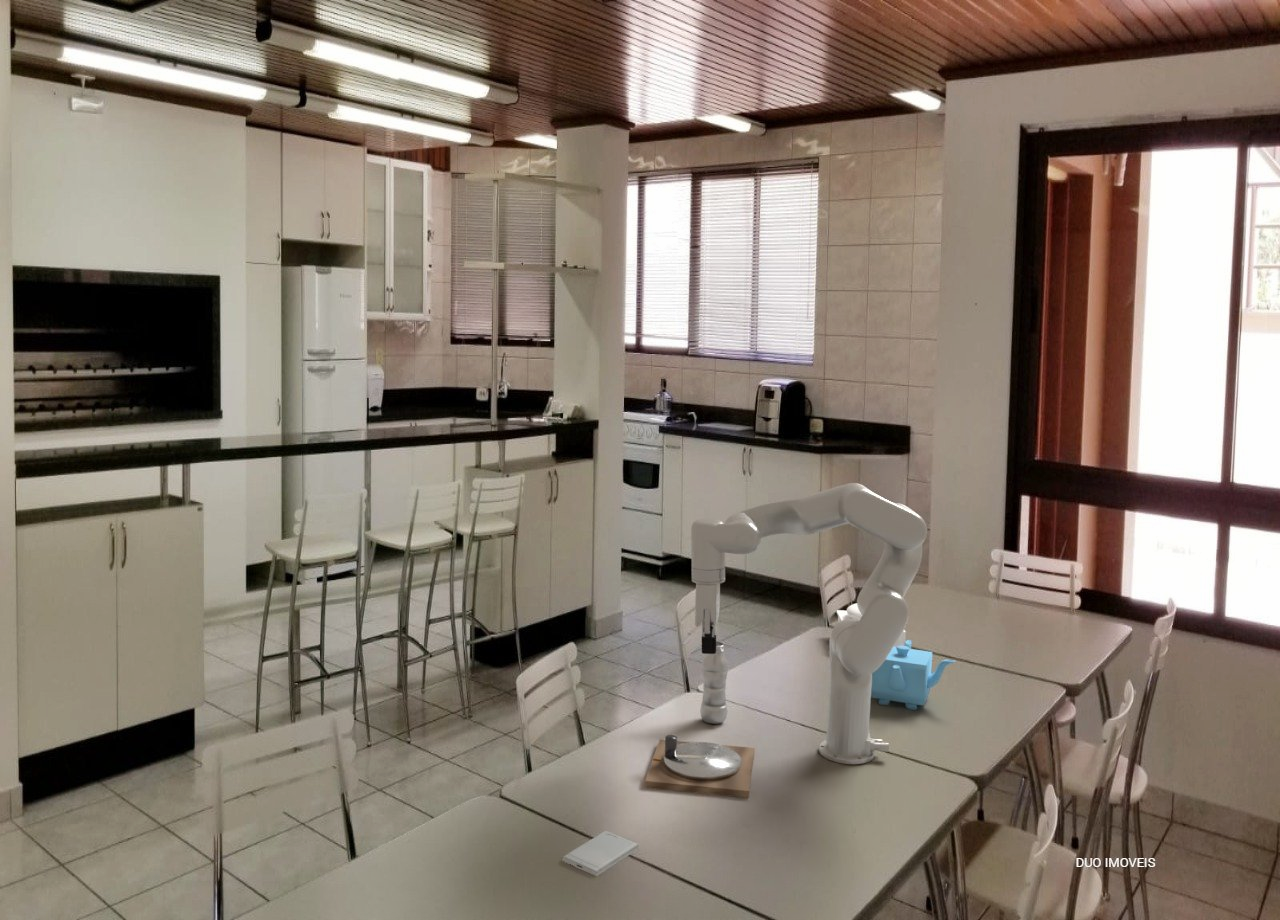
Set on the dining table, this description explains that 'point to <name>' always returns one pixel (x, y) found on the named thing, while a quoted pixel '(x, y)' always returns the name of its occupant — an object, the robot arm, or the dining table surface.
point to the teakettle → (906, 676)
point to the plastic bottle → (714, 686)
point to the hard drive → (600, 853)
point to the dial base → (726, 786)
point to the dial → (700, 759)
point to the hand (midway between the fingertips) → (709, 652)
